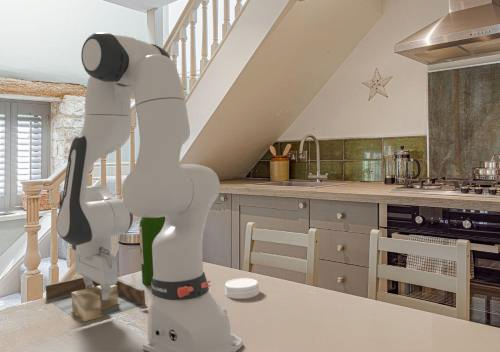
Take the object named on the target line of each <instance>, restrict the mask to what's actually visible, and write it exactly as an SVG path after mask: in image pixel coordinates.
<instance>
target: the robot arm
mask: <svg viewBox="0 0 500 352" xmlns="http://www.w3.org/2000/svg"><path fill="white" fill-rule="evenodd" d="M81 62H82V63H81V64H82V66H83V69H84V71H85V72H86V74H88V76H89V77H88V81H87V85H86V88H85V89H86V91H85V98H84V122H83V127H82V129H81V132H80V134H79V135H77V136H76V137H75V138H73V140H72V142H71V145H70V148H69V153H68V159H67V164H66V171H65V178H64V184H63V191H62V199H61V203H60V207H59V209H58V213H57V216H56V230H57V231H56V232H57V234H58V236H59V237H60V238H61V239H62V240H63V241H65V243H67V244H70V245H71V249H72V251H73V261H74V268H75V272H76V273H77V274H78V275H80V276H81V277H83V279H84V282H85V285H86V289H87V288H91V287H94V285H93V282H92V281H94V282H96V283H98V284H100V285H101V288H102V289H101V293H100V299H102V300H107V299H109V290H110V286H111V285H115V284H117V281H118V279H119V275H118V268H117V261H116V258H115V256H114V255H113V254H111V251H112V238H113V237H117V236H121V235H124V234H126V233H128V232H129V230H130V228H131V227H132V224H133V221H134V216H135V217H138V218H142V217H146V218H159V217H164V216H165V218H166V219H165V223H164V225H163V228H162V230H161V231H160V233H159V234H158V235H157V236H156V237H155V239H154V241H153V244H152V255H153V275H154V276H153V277H152V283H151V293H152V295H153V296H152V297H153V298H152V301H151V304H150V306H149V307H148V312H147V313H148V314H147V319H148V320H147V339H146V340H145V341H144V342H143V346H142V349H143V350H144V351H146V352H238V351H239V350H240V349H241V347H243V344H244V343H243V339H242V338H241V337H239V336H237V335H236V334H235V333H234V332H232V330H231V323H230V319H229V316H228V311H227V309H226V308H225V307H221V306H220V304H219V303H218V302H217V300H216V299H215V297H213V295H212V294H211V293H210V291H209V290H210V287H211V286H212V284H210V283H211V280H208V279H207V277H206V274H205V272H204V267H203V264H204V263H203V237H204V231H205V227H206V223H207V219H208V216H209V212H210V210H211V207H212V205H213V204H214V203H215V201H216V200H217V198H218V197H219V194H220V191H221V182H220V179H219V177H218V175H217V173H216V172H215V171H214V170H213V169H212V168H210V167H208V166H205V165H201V164H196V163H185V164H184V163H183V164H181V161H180V160H181V159H180V158H181V151H182V148H183V145H184V144H185V143H187V141H188V140H189V139H190V135H191V129H190V123H189V116H188V110H187V109H188V108H187V103H186V98H185V93H184V88H183V84H182V81H181V77H180V74H179V72H178V68H177V66H176V64H175V62H174V61H173V60H172V58H171V56H170V54H169V53H168V52H167V51H166V50H165V49H164V48H162V47H160V46H158V45H156V44H155V43H148V42H145V41H142V40H140V39H136V38H134V37H131V36H126V35H120V34H119V35H118V34H112V33H111V32H95V33H92V34H90V35H89V36H88V37H87V38H86V40H85V41H84V43H83V44H82V47H81ZM133 94H134V95H133ZM132 95H133V97H134V104H135V110H136V117H137V124H138V132H139V133H138V135H139V148H138V155H137V158H136V161H135V165H134V166H133V168H132V170H131V171H130V172H129V173H128V175H126V177H125V179H124V181H123V184H122V187H121V197H122V198H118V197H116V196H114V195H112V194H110V192H109V191H108V189H107V187H106V186H104V185H89V186H88V182H89V174H90V171H91V168H92V167H93V165H94V164H95V163H96V162H97V161H99V160H100V159H101V158H103V157H105V156H107V155H109V154H112V153H113V152H115V151H119V149H121V148H122V147H124V145H125V144H126V143H127V141H128V140H129V139H130V137H131V133H132V106H131V102H132V101H131V100H132Z"/></svg>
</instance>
